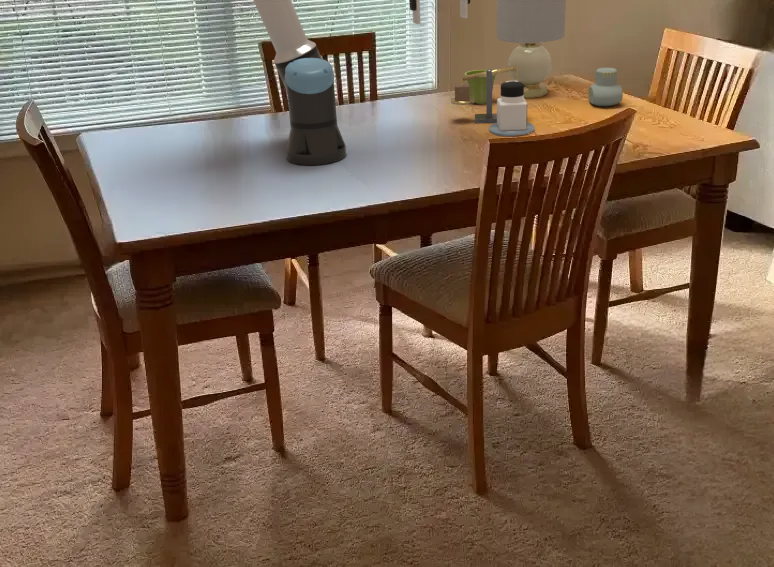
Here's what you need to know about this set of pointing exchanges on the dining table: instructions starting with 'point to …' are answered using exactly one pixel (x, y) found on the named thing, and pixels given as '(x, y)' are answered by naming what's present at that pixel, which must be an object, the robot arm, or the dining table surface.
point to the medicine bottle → (512, 107)
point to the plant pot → (478, 87)
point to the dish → (495, 130)
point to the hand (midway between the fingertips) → (440, 20)
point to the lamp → (531, 38)
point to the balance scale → (464, 93)
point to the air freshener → (605, 88)
